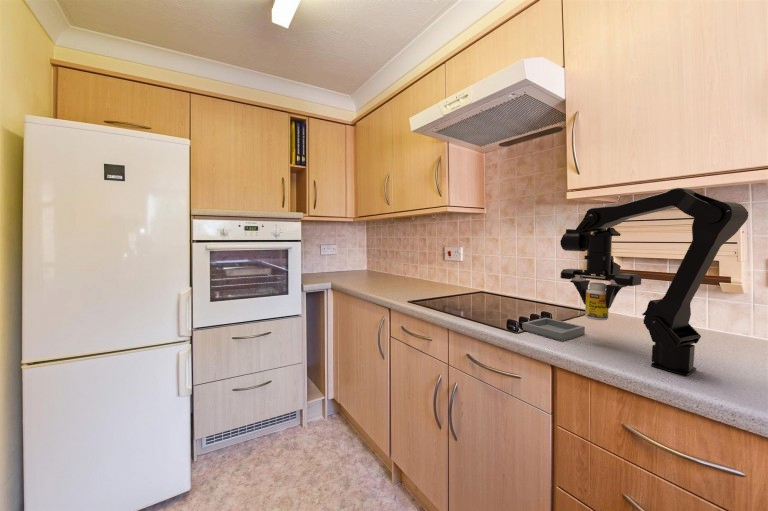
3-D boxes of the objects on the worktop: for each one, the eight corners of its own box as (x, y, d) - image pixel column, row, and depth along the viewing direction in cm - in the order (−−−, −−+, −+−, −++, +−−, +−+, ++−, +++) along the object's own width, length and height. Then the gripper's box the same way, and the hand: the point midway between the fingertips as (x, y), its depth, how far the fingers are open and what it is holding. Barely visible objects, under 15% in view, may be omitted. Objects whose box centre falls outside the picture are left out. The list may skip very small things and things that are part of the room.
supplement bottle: (585, 319, 90) (586, 283, 89) (584, 315, 95) (585, 281, 94) (609, 322, 87) (610, 285, 87) (607, 317, 92) (608, 282, 92)
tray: (584, 334, 100) (584, 326, 100) (561, 341, 94) (561, 333, 93) (545, 324, 111) (545, 317, 111) (522, 330, 105) (522, 322, 105)
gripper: (651, 252, 86) (648, 309, 87) (579, 250, 102) (578, 298, 103) (632, 254, 80) (630, 314, 81) (560, 251, 96) (558, 301, 97)
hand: (596, 306), depth 91 cm, fingers closed on supplement bottle, 5 cm apart
